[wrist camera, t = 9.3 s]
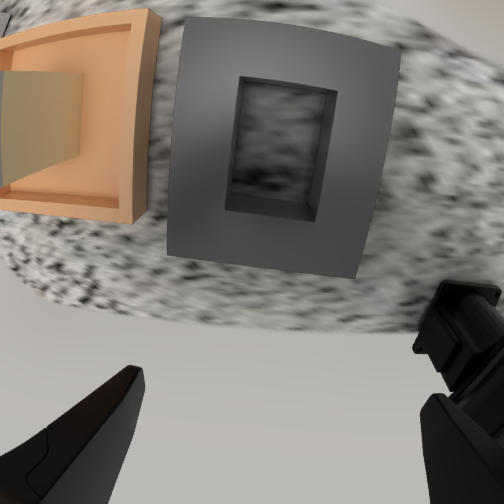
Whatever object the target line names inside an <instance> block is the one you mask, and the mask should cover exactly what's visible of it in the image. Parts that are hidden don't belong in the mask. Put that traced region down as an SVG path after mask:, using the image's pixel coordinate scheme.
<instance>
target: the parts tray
mask: <svg viewBox="0 0 504 504" xmlns="http://www.w3.org/2000/svg"><path fill="white" fill-rule="evenodd" d="M161 23H162V18H161V17H160V16H158V15H157V14H156V13H154V12H153V11H152V10H150V9H149V8H145V9H134V10H124V11H116V12H109V13H102V14H95V15H89V16H84V17H79V18H73V19H69V20H64V21H60V22H55V23H51V24H47V25H43V26H39V27H36V28H32V29H29V30H25V31H22V32H19V33H15V34H12V35H9V36H6V37H3V38H0V71H49V72H66V73H80V74H85V76H84V86H83V98H82V113H81V136H80V156H78V157H75V158H72V159H69V160H67V161H64V162H61V163H59V164H56V165H54V166H51V167H48V168H46V169H43V170H41V171H38V172H36V173H34V174H31V175H29V176H26V177H24V178H22V179H20V180H17V181H15V182H13V183H11V184H8V185H6V186H4V187H2V188H0V210H8V211H17V212H27V213H36V214H45V215H54V216H64V217H72V218H81V219H90V220H99V221H108V222H116V223H125V224H133V223H134V222H135V221H136V220H138V219H139V218H140V217H141V216H142V215H143V214H144V213H145V212H146V203H147V166H148V145H149V129H150V116H151V104H152V93H153V84H154V74H155V66H156V58H157V50H158V43H159V36H160V30H161Z"/></svg>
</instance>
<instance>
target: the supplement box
mask: <svg viewBox="0 0 504 504" xmlns="http://www.w3.org/2000/svg"><path fill="white" fill-rule="evenodd" d="M9 18H10V14H7V13H2V12H0V38H2V36H3V33H4V31H5V28H6V25H7V23H8V20H9Z"/></svg>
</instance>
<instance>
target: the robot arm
mask: <svg viewBox="0 0 504 504" xmlns="http://www.w3.org/2000/svg"><path fill="white" fill-rule="evenodd" d="M447 286H448V287H447ZM446 287H447V288H446ZM445 288H446V289H445ZM501 293H502V291H501V289H500V288H499V287H497V286H490V285H482V284H474V283H466V282H457V281H449V280H445V281H443V282H442V283H441V284H440V286H439V289H438V291H437V294H436V296H435V298H434V301H433V303H432V305H431V308H430V310H429V312H428V314H427V316H426V319H425V321H424V323H423V325H422V327H421V329H420V332H419V334H418V336H417V338H416V340H415V342H414V344H413V346H412V350H413V352H414V353H415V354H428V355H429V357H430V359H431V361H432V363H433V365H434V367H435V369H436V371H437V372H440V373H441V375H442V377H443V379H444V381H445V383H446V385H447V387H448V389H449V391H450V392H453V393H452V394H451V395H450V396H449V397H447V396H446V395H445V394H443V393H437V394H436V393H435V394H432V395H431V396H430V397H429V398H428V400H427V401H426V403H425V405H424V406H423V407H422V409H421V412H420V423H421V434H422V447H423V456H424V462H425V469H426V475H427V482H428V489H429V497H430V504H504V318H503V317H502V316H501V314H500V313H499V312H498V311H497V310H496V308H495V306H496V304H497V302H498V300H499V298H500V296H501ZM144 393H145V381H144V375H143V369H142V368H141V367H138V366H134V365H128V366H126V367H125V368H124V369H122V370H121V371H120V372H118V373H117V374H116V375H114V376H113V377H112V378H111V379H109V380H108V381H107V382H105V383H104V384H103V385H101V386H100V387H99V388H97V389H96V390H95V391H93V392H92V393H91V394H89V395H88V396H87V397H85V398H84V399H83V400H81V401H80V402H79V403H77V404H76V405H75V406H73V407H72V408H71V409H69V410H68V411H67V412H66V413H64V414H63V415H61V416H60V417H59V418H57V419H56V420H55V421H53V422H52V423H51V424H49V425H48V426H47V428H44V429H43V430H41V431H40V432H38V433H37V434H36V435H34V436H33V437H31V438H30V439H29V440H27V441H26V442H24V443H22V444H21V445H19V446H17V447H16V448H14V449H12V450H11V451H9V452H7V453H5V454H4V455H2V456H0V504H108V502H109V499H110V497H111V494H112V491H113V489H114V486H115V483H116V480H117V478H118V475H119V472H120V470H121V467H122V464H123V461H124V459H125V456H126V454H127V451H128V449H129V446H130V443H131V441H132V438H133V435H134V432H135V428H136V424H137V419H138V416H139V412H140V408H141V404H142V400H143V396H144Z"/></svg>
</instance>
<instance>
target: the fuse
mask: <svg viewBox="0 0 504 504" xmlns="http://www.w3.org/2000/svg"><path fill="white" fill-rule="evenodd" d="M84 76H85V74H80V73H66V72H49V71H0V188H2V187H4V186H6V185H8V184H11V183H13V182H15V181H17V180H20V179H22V178H24V177H26V176H29V175H31V174H34V173H36V172H38V171H41V170H43V169H46V168H48V167H51V166H54V165H56V164H59V163H61V162H64V161H67V160H69V159H72V158H75V157H78V156H80V136H81V113H82V98H83V86H84Z"/></svg>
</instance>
